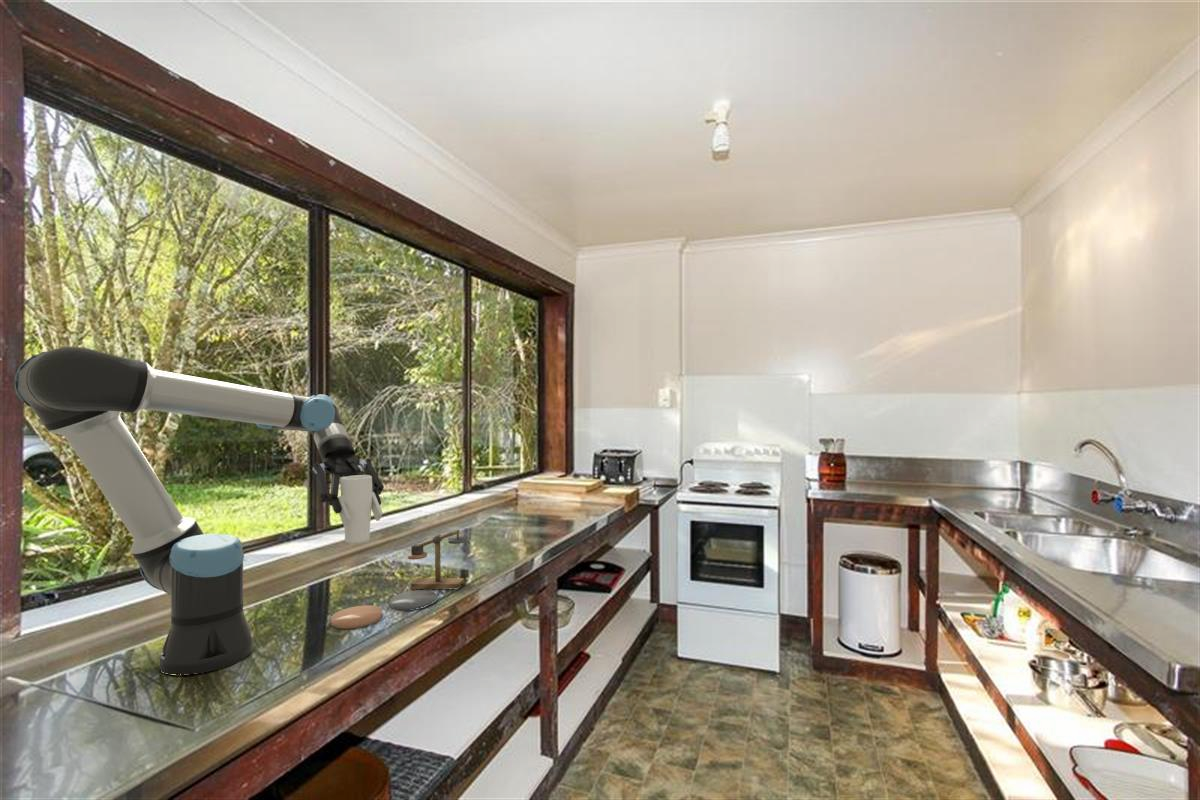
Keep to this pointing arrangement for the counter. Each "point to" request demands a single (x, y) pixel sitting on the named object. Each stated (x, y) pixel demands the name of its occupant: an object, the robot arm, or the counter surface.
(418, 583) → the balance
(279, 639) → the counter surface
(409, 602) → the charcoal dish
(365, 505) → the drinking glass
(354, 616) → the pink oval pebble
